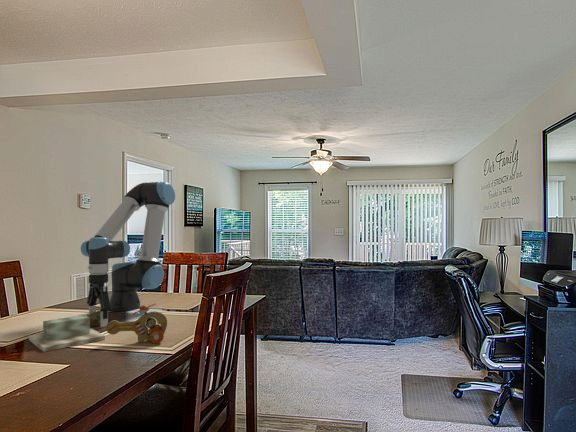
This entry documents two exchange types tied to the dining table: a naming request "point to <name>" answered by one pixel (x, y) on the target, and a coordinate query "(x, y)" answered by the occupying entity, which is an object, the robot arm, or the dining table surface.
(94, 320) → the stone block
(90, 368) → the dining table surface
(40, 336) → the tower base
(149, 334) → the toy helicopter
